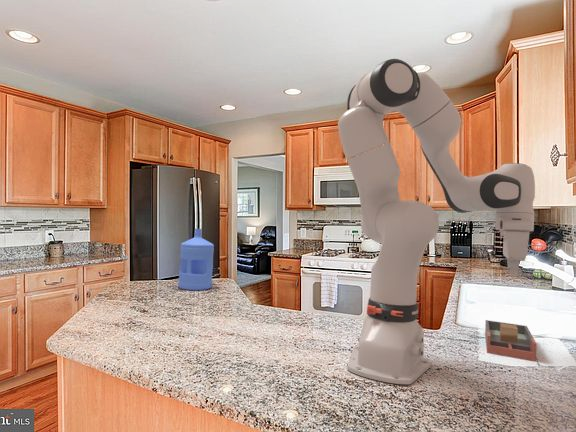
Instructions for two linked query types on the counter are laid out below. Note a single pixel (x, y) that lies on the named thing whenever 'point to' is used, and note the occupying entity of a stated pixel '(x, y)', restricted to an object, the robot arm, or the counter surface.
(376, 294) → the robot arm
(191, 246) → the water jug
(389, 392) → the counter surface
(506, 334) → the maple block
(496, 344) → the box
